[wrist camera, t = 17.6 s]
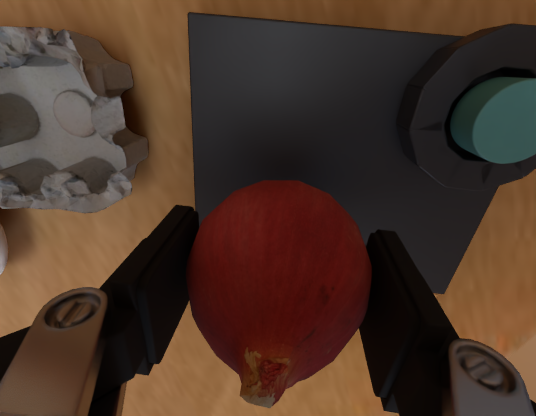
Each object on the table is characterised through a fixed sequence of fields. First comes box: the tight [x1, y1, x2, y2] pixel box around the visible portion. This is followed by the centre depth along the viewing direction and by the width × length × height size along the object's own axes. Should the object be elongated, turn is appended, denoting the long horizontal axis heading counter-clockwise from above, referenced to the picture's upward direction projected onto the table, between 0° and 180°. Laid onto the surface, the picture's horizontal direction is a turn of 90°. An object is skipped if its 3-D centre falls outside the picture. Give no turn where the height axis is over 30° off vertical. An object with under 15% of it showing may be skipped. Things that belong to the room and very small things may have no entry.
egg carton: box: [0, 27, 149, 213], centre depth 13 cm, size 11×8×4 cm
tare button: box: [450, 77, 536, 164], centre depth 9 cm, size 3×3×2 cm
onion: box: [186, 180, 372, 408], centre depth 9 cm, size 6×6×8 cm
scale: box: [188, 12, 536, 294], centre depth 13 cm, size 14×12×3 cm
